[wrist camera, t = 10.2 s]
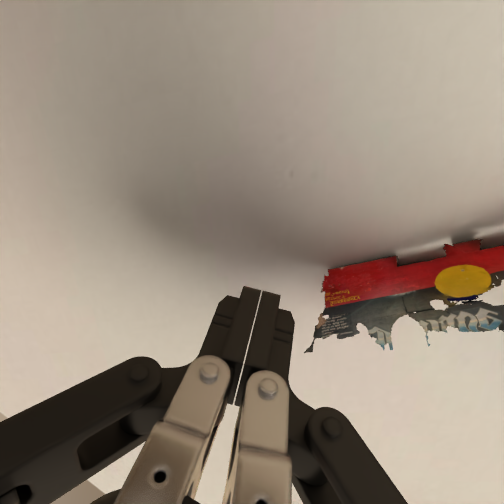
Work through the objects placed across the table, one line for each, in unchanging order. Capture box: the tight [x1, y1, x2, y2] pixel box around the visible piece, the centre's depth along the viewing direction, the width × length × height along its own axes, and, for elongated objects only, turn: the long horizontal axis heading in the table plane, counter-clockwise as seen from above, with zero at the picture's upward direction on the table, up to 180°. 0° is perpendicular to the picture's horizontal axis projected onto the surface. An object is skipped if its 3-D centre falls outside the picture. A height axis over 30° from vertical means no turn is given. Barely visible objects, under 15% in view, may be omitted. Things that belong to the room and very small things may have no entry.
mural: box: [304, 239, 504, 353], centre depth 13 cm, size 12×7×6 cm, turn 113°
